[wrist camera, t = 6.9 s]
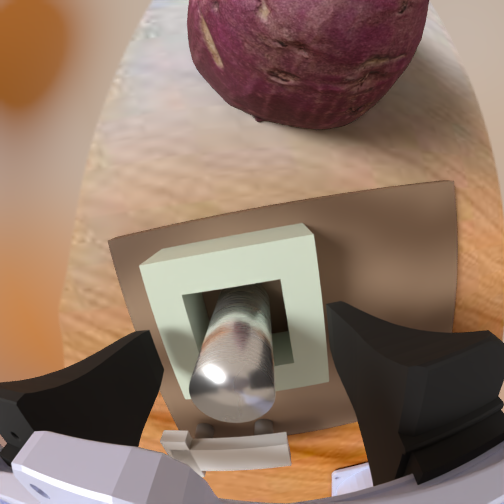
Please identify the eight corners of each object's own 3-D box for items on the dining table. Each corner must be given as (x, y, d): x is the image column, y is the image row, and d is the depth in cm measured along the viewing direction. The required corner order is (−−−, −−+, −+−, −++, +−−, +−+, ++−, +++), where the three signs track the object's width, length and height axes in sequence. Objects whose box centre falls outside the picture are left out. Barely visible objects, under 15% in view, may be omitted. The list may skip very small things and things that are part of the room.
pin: (275, 318, 15) (284, 414, 8) (227, 330, 15) (207, 427, 8) (261, 272, 14) (262, 351, 8) (211, 286, 15) (175, 369, 8)
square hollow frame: (318, 348, 15) (329, 381, 12) (196, 366, 16) (185, 399, 13) (302, 222, 14) (313, 234, 11) (161, 248, 14) (139, 265, 11)
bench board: (433, 391, 17) (455, 423, 14) (189, 436, 19) (179, 475, 15) (444, 180, 14) (487, 183, 10) (116, 237, 15) (77, 254, 11)
